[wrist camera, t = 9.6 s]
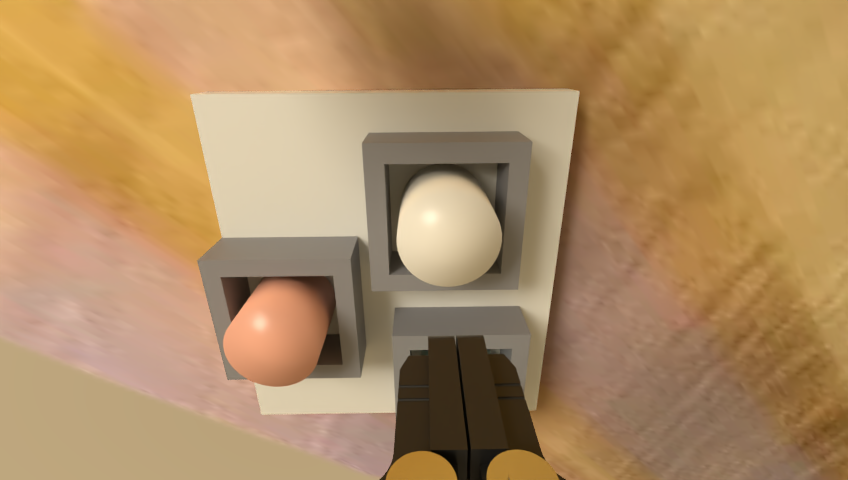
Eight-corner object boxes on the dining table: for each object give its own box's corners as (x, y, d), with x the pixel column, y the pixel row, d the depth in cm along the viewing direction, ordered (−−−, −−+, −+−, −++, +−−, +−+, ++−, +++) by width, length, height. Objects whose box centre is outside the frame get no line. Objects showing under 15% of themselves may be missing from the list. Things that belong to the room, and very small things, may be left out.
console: (566, 88, 23) (603, 95, 19) (529, 390, 32) (547, 445, 27) (208, 91, 23) (156, 99, 18) (270, 394, 32) (245, 450, 27)
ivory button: (487, 162, 22) (505, 189, 18) (483, 243, 24) (498, 286, 20) (399, 163, 22) (394, 190, 18) (401, 244, 24) (398, 287, 20)
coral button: (332, 263, 25) (312, 310, 20) (339, 329, 27) (323, 385, 22) (251, 264, 25) (213, 311, 20) (264, 330, 27) (233, 387, 22)
